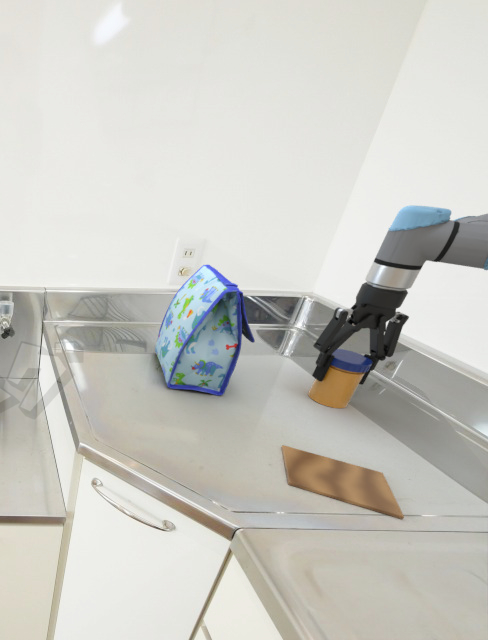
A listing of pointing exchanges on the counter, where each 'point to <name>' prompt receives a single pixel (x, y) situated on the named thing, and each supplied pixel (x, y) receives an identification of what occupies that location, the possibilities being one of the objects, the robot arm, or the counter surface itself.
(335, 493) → the wooden cutting board
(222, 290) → the lunch bag
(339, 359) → the jar lid
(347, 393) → the jam jar
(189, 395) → the counter surface
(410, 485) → the counter surface
